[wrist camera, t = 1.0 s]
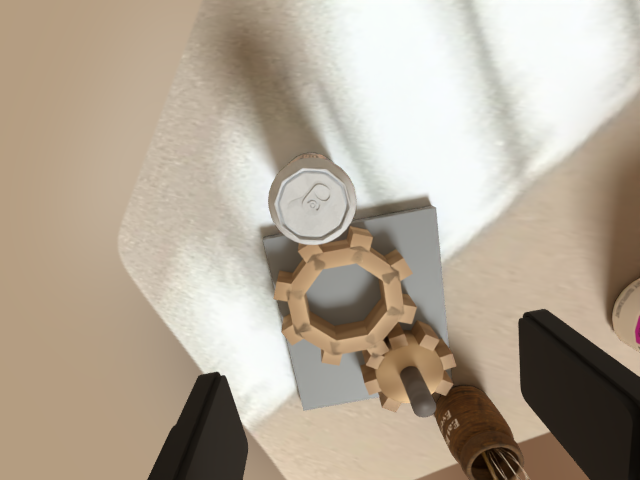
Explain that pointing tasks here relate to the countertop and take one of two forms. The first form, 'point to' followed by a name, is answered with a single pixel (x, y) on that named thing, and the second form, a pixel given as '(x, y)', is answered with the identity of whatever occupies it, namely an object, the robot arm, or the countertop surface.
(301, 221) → the beer can
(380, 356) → the small gear
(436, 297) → the gear board
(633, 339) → the supplement can
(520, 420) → the countertop surface
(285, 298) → the oak gear
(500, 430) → the utensil holder
